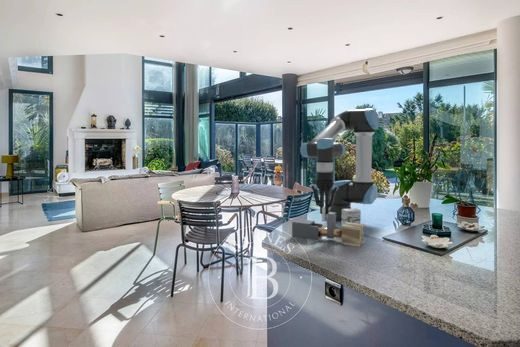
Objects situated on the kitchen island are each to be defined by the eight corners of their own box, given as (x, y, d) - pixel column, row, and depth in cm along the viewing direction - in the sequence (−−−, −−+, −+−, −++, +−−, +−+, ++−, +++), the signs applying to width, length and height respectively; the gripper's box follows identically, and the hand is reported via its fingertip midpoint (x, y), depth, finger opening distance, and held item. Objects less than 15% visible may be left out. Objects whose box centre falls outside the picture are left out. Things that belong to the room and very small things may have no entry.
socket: (346, 239, 158) (346, 222, 157) (363, 242, 154) (363, 223, 153) (341, 244, 151) (341, 225, 150) (359, 246, 147) (359, 227, 146)
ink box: (345, 233, 168) (345, 210, 167) (340, 231, 173) (341, 208, 172) (360, 232, 170) (361, 209, 169) (355, 230, 175) (356, 208, 174)
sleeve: (297, 233, 169) (297, 219, 168) (322, 236, 163) (322, 221, 162) (292, 237, 163) (292, 221, 162) (317, 240, 157) (317, 224, 156)
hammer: (309, 232, 165) (309, 210, 164) (345, 237, 156) (345, 213, 155) (305, 235, 161) (305, 211, 160) (342, 240, 152) (343, 215, 151)
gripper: (308, 171, 156) (308, 221, 158) (336, 172, 149) (335, 224, 152) (314, 170, 162) (314, 217, 164) (340, 171, 156) (340, 220, 158)
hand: (324, 220), depth 158 cm, fingers closed
